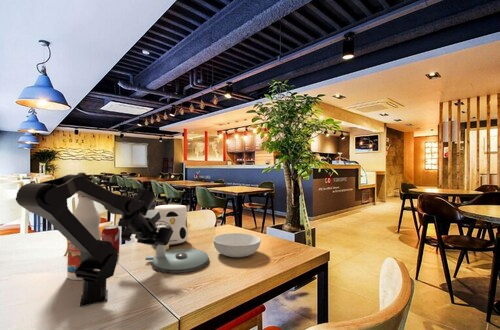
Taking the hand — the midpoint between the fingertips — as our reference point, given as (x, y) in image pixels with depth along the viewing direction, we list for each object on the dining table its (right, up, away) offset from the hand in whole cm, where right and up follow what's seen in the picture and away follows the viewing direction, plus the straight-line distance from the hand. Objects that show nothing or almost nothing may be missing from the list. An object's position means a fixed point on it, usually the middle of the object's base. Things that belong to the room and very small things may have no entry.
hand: (156, 245), depth 99 cm
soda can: (-23, -7, +9) cm, 26 cm away
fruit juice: (-21, -7, -11) cm, 25 cm away
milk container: (-3, -8, +28) cm, 29 cm away
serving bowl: (+30, -8, +14) cm, 34 cm away
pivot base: (+8, -8, +3) cm, 12 cm away
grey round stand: (+8, -6, +2) cm, 10 cm away
